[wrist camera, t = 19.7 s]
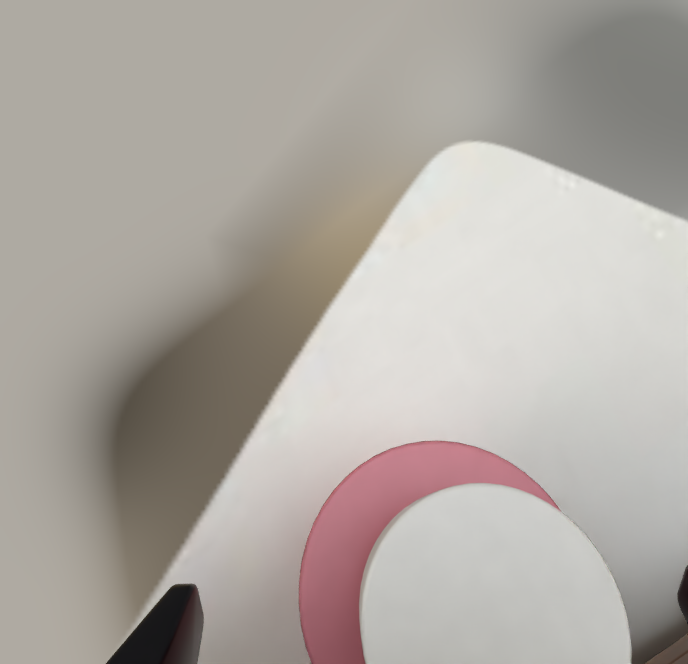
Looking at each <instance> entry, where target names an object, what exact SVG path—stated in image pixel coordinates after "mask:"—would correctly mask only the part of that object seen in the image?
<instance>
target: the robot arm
mask: <svg viewBox="0 0 688 664" xmlns="http://www.w3.org/2000/svg"><path fill="white" fill-rule="evenodd" d="M678 603H679V607H680V609H681V611H682V613H683V615H684V617H685V620H686V622H687V624H688V565H687V567H686V569H685V572H684V575H683V578H682V581H681V584H680V587H679V590H678ZM203 624H204V615H203V610H202V605H201V601H200V596H199V592H198V588H197V586H196V585H195V584H177V585H174V586H172V587H171V588H170V589H169V590H168V591H167V592H166V594H165V595H164V596H163V597H162V598H161V599H160V601H159V602H158V603H157V604H156V605H155V606H154V608H153V609H152V610H151V611H150V612H149V614H148V615H147V616H146V617H145V618H144V619H143V621H142V622H141V623H140V624H139V625H138V626H137V628H136V629H135V630H134V631H133V632H132V633H131V635H130V636H129V637H128V638H127V639H126V641H125V642H124V643H123V644H122V645H121V646H120V648H119V649H118V650H117V651H116V652H115V653H114V655H113V656H112V657H111V658H110V659H109V660H108V662H107V663H106V664H197V662H198V656H199V650H200V644H201V638H202V632H203Z"/></svg>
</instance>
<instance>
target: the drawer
mask: <svg viewBox="0 0 688 664" xmlns="http://www.w3.org/2000/svg"><path fill="white" fill-rule="evenodd" d="M644 664H688V634H686V635H685V636H684V637H682V638H681V639H679V640H678V641H676V642H675V643H673V644H672V645H670V646H669V647H668V648H666V649H665V650H663V651H662V652H660V653H659V654H657V655H656V656H654V657H653V658H652V659H650V660H649V661H647V662H646V663H644Z"/></svg>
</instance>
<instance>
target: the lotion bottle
mask: <svg viewBox="0 0 688 664" xmlns="http://www.w3.org/2000/svg"><path fill="white" fill-rule="evenodd" d="M299 611H300V621H301V628H302V632H303V637H304V641H305V646H306V649H307V652H308V655H309V658H310V661H311V664H631V657H632V649H631V638H630V629H629V624H628V619H627V615H626V610H625V607H624V604H623V601H622V598H621V594H620V591H619V589H618V587H617V585H616V582H615V580H614V578H613V576H612V573H611V571H610V570H609V568H608V566H607V565H606V563H605V561H604V559H603V558H602V556H601V554H600V553H599V552H598V550H597V549H596V547H595V546H594V545H593V543H592V542H591V541H590V539H589V538H588V537H587V536H586V535H585V534H584V533H583V532H582V531H581V529H580V528H579V527H578V526H577V525H576V524H575V523H574V522H572V521H571V520H570V519H569V518H568V517H567V516H566V515H564V514H563V513H562V512H561V511H560V509H559V508H558V506H557V505H556V504H555V502H554V501H553V500H552V499H551V497H550V496H549V495H548V494H547V493H546V492H545V491H544V490H543V489H542V488H541V487H540V485H538V484H537V483H536V482H535V481H534V480H533V479H532V478H530V477H529V476H528V475H527V474H526V473H525V472H523V471H522V470H520V469H519V468H517V467H516V466H514V465H513V464H511V463H510V462H508V461H507V460H505V459H503V458H501V457H499V456H497V455H495V454H493V453H491V452H488V451H485V450H483V449H480V448H477V447H474V446H470V445H466V444H462V443H457V442H448V441H422V442H416V443H409V444H405V445H401V446H398V447H395V448H391V449H389V450H387V451H384V452H382V453H380V454H378V455H376V456H374V457H372V458H371V459H369V460H367V461H366V462H364V463H363V464H361V465H360V466H358V467H357V468H356V469H355V470H354V471H352V472H351V473H350V474H349V475H348V476H346V477H345V478H344V480H343V481H342V482H341V483H340V484H339V485H338V486H337V487H336V488H335V489H334V490H333V492H332V493H331V495H330V496H329V498H328V499H327V500H326V502H325V503H324V505H323V506H322V508H321V510H320V512H319V514H318V516H317V517H316V519H315V521H314V523H313V526H312V529H311V531H310V534H309V536H308V539H307V542H306V546H305V550H304V554H303V558H302V562H301V570H300V578H299Z"/></svg>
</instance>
